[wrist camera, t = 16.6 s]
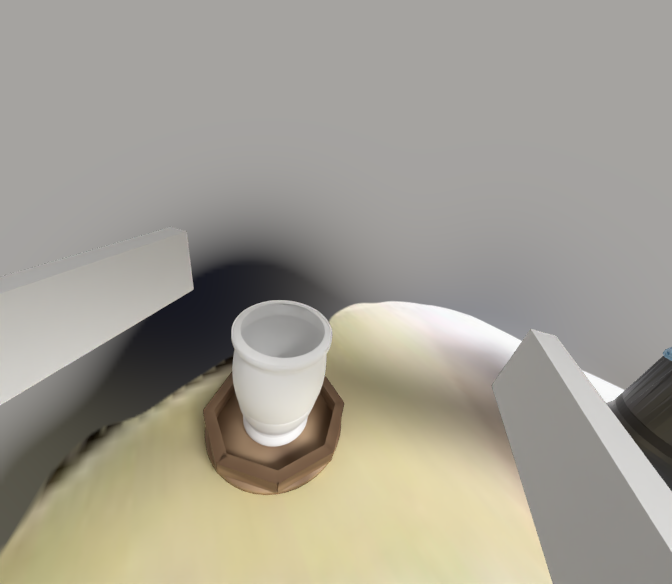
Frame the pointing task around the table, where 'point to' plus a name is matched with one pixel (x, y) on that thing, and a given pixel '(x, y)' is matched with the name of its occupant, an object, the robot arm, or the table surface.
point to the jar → (278, 367)
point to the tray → (264, 461)
